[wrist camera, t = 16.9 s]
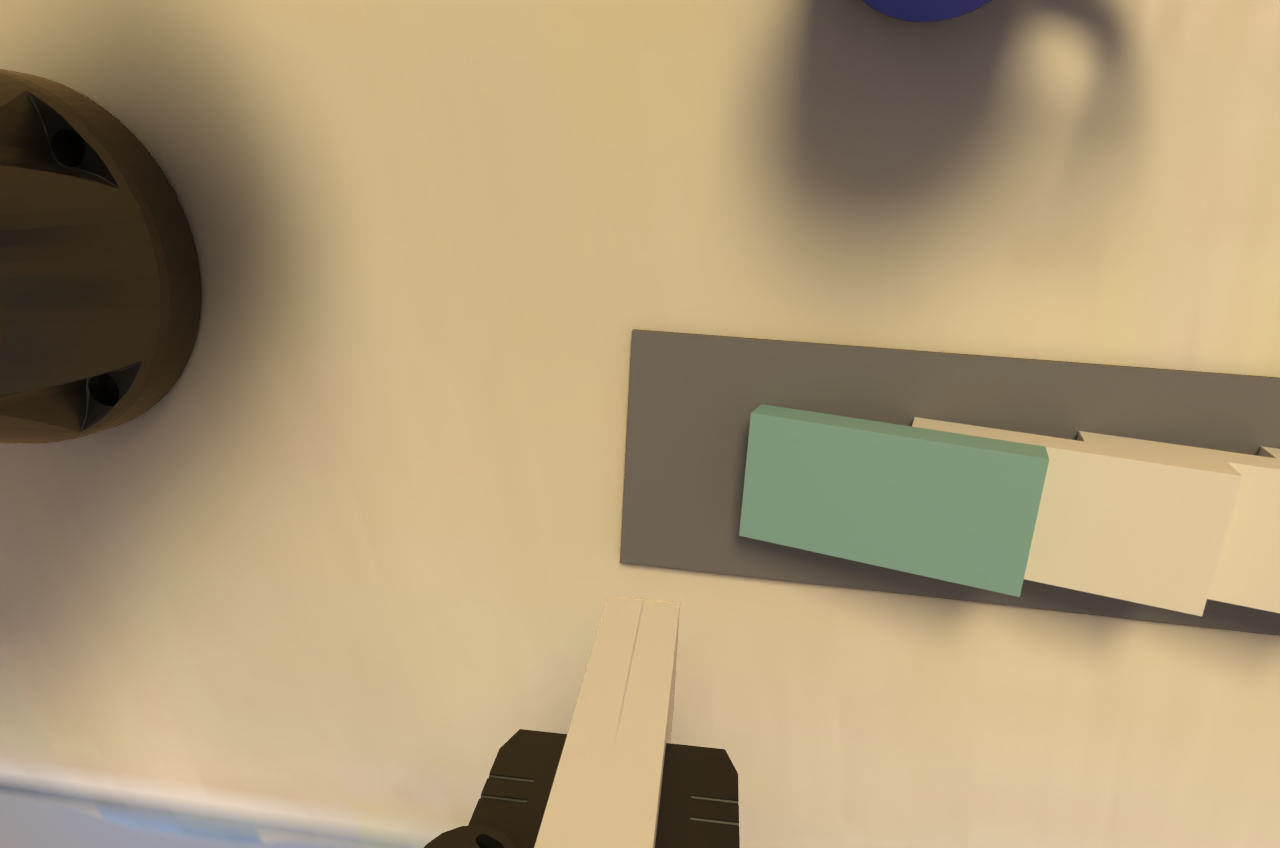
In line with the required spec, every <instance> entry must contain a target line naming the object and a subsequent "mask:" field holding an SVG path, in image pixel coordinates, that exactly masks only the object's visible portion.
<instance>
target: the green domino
mask: <svg viewBox="0 0 1280 848" xmlns="http://www.w3.org/2000/svg"><path fill="white" fill-rule="evenodd" d="M1048 463H1049V457H1048V454H1047V450H1046V447H1045V446H1038V445H1031V444H1025V443H1018V442H1011V441H1005V440H998V439H991V438H985V437H978V436H971V435H965V434H958V433H951V432H945V431H938V430H931V429H925V428H918V427H911V426H905V425H898V424H891V423H885V422H878V421H871V420H865V419H858V418H851V417H845V416H838V415H831V414H825V413H818V412H811V411H805V410H798V409H791V408H785V407H778V406H771V405H765V404H761V405H760V406H759V407H758V408H756V409H755V410H754V411H753V412H752V413H751V417H750V428H749V438H748V449H747V459H746V469H745V480H744V490H743V500H742V511H741V521H740V531H739V536H744V537H748V538H753V539H757V540H762V541H766V542H771V543H775V544H780V545H785V546H789V547H794V548H798V549H803V550H807V551H812V552H816V553H821V554H826V555H830V556H835V557H839V558H844V559H848V560H853V561H857V562H862V563H867V564H871V565H876V566H880V567H885V568H889V569H894V570H898V571H903V572H907V573H912V574H917V575H921V576H926V577H930V578H935V579H939V580H944V581H948V582H953V583H958V584H962V585H967V586H971V587H976V588H980V589H985V590H989V591H994V592H999V593H1003V594H1008V595H1012V596H1017V597H1020V594H1021V589H1022V585H1023V580H1024V575H1025V571H1026V566H1027V561H1028V557H1029V552H1030V547H1031V543H1032V538H1033V533H1034V529H1035V524H1036V519H1037V514H1038V510H1039V505H1040V500H1041V496H1042V491H1043V486H1044V482H1045V477H1046V472H1047V468H1048Z"/></svg>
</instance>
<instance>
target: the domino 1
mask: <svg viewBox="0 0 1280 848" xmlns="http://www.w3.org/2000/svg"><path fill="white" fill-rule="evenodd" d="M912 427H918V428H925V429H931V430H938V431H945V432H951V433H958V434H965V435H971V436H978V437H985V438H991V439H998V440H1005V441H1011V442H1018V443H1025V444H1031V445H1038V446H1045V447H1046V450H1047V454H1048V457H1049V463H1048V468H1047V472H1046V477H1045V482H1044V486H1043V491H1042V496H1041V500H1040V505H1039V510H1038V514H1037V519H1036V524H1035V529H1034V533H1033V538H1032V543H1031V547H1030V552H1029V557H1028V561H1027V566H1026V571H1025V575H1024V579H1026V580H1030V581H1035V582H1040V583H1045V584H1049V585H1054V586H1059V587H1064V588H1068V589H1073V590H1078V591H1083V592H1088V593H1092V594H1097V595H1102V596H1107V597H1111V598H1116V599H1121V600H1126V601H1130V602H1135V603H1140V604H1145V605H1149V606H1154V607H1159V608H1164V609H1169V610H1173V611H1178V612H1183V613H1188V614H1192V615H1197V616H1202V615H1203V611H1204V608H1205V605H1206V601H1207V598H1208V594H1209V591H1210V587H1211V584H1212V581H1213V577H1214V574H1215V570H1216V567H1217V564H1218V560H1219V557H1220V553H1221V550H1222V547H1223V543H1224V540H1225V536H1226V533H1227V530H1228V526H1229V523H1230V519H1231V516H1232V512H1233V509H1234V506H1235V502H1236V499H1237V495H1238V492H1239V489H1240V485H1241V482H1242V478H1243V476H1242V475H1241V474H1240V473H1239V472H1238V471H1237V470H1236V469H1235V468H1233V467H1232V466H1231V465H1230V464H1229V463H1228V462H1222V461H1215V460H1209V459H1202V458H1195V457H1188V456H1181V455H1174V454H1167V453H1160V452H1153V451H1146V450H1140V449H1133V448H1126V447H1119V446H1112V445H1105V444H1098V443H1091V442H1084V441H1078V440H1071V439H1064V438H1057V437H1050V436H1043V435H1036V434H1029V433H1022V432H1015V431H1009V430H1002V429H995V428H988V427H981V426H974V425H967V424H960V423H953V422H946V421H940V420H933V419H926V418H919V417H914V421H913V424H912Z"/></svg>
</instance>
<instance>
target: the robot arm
mask: <svg viewBox="0 0 1280 848" xmlns="http://www.w3.org/2000/svg"><path fill="white" fill-rule="evenodd" d="M200 304H201V286H200V273H199V266H198V259H197V254H196V250H195V245H194V241H193V238H192V234H191V231H190V228H189V225H188V222H187V219H186V217H185V214H184V212H183V209H182V207H181V205H180V203H179V201H178V199H177V196H176V194H175V192H174V190H173V189H172V187H171V185H170V183H169V182H168V180H167V178H166V176H165V175H164V173H163V172H162V170H161V169H160V167H159V166H158V164H157V163H156V162H155V160H154V159H153V157H152V156H151V155H150V153H149V152H148V151H147V150H146V149H145V147H144V146H143V145H142V144H141V142H140V141H139V140H138V139H137V138H136V137H135V136H134V135H133V134H132V133H131V132H130V131H129V130H128V129H127V128H126V127H125V126H124V125H123V124H122V123H121V122H120V121H119V120H117V119H116V118H115V117H114V116H113V115H111V114H110V113H109V112H108V111H106V110H105V109H104V108H102V107H101V106H99V105H98V104H97V103H95V102H94V101H92V100H90V99H89V98H87V97H85V96H84V95H82V94H80V93H78V92H76V91H74V90H73V89H71V88H68V87H66V86H64V85H62V84H59V83H57V82H54V81H51V80H48V79H45V78H41V77H37V76H34V75H29V74H24V73H19V72H13V71H8V70H3V69H0V443H51V442H59V441H65V440H70V439H75V438H79V437H82V436H86V435H89V434H92V433H95V432H98V431H101V430H104V429H107V428H110V427H113V426H116V425H119V424H122V423H124V422H127V421H129V420H131V419H133V418H135V417H137V416H139V415H141V414H142V413H144V412H145V411H147V410H148V409H150V408H151V407H152V406H154V405H155V404H156V403H157V402H158V401H159V400H160V399H161V398H162V397H163V396H164V395H165V394H166V393H167V392H168V391H169V390H170V389H171V387H172V386H173V385H174V383H175V382H176V381H177V379H178V377H179V376H180V374H181V372H182V371H183V369H184V367H185V365H186V363H187V361H188V358H189V356H190V353H191V351H192V348H193V345H194V341H195V338H196V333H197V329H198V323H199V316H200ZM679 609H680V602H670V601H659V600H648V599H637V598H626V597H615V596H608V597H607V601H606V604H605V608H604V611H603V614H602V618H601V621H600V625H599V628H598V632H597V635H596V638H595V642H594V645H593V649H592V652H591V655H590V659H589V662H588V666H587V669H586V673H585V676H584V679H583V683H582V686H581V690H580V693H579V696H578V700H577V703H576V707H575V710H574V713H573V717H572V720H571V724H570V727H569V731H568V734H558V733H549V732H540V731H531V730H522V729H520V730H519V731H518V732H517V733H516V734H515V735H514V736H512V737H511V738H510V739H509V740H508V741H507V742H506V743H505V744H504V745H503V746H502V747H501V748H500V749H499V752H498V754H497V757H496V759H495V761H494V764H493V766H492V769H491V771H490V775H489V778H488V779H487V781H486V783H485V786H484V788H483V791H482V793H481V799H479V801H478V803H477V806H476V808H475V810H474V813H473V815H472V818H471V820H470V823H469V825H468V826H461V827H459V828H456V829H453V830H450V831H447V832H444V833H442V834H441V835H439V836H438V837H437V838H435V839H434V840H432V841H431V842H430V843H428V844H427V845H426V846H425V847H424V848H739V805H738V773H737V771H736V769H735V767H734V766H733V764H732V762H731V760H730V758H729V756H728V754H727V753H726V751H725V749H716V748H706V747H697V746H688V745H679V744H670V739H671V729H672V719H673V707H674V691H675V674H676V658H677V642H678V626H679Z"/></svg>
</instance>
